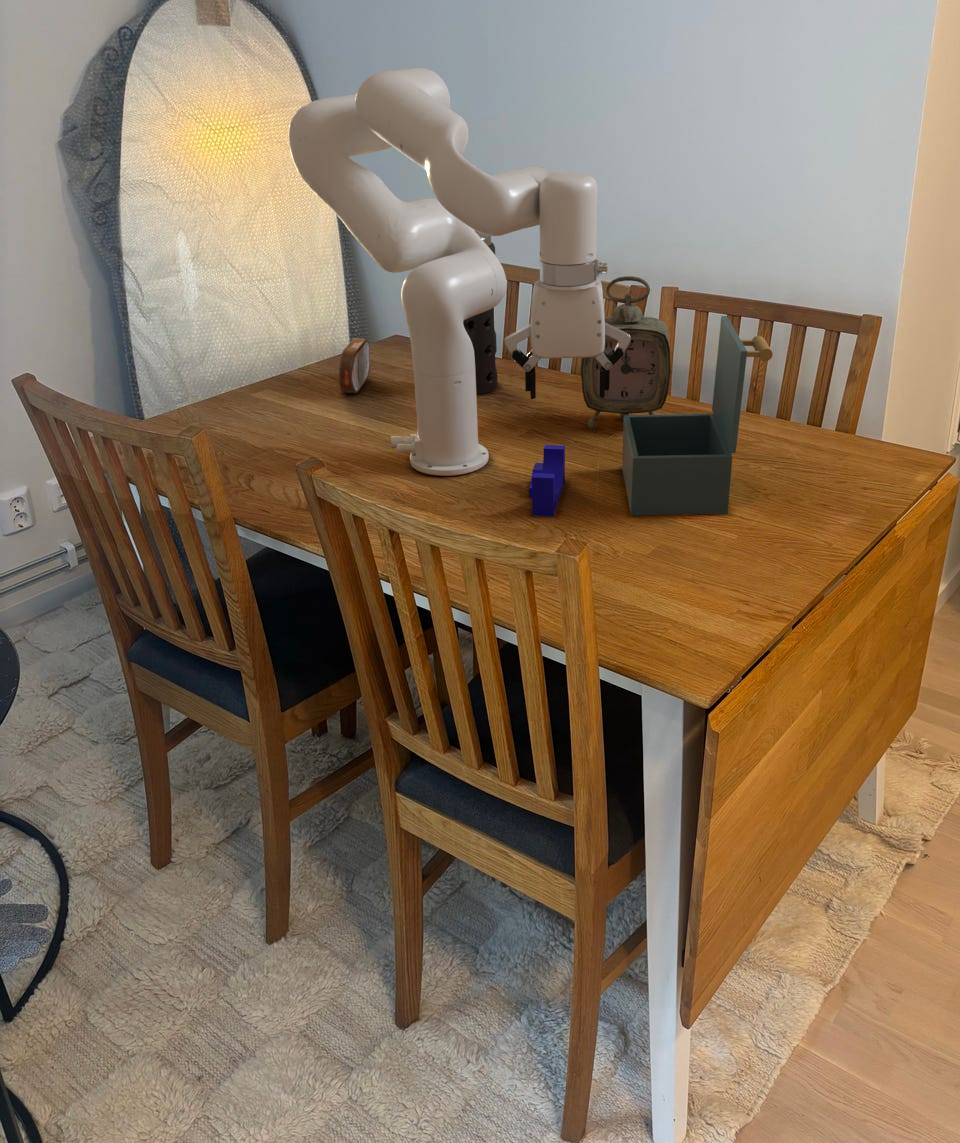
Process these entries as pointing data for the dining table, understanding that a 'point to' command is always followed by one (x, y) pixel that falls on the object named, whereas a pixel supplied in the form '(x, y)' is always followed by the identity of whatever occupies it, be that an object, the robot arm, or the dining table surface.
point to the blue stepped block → (548, 481)
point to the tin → (354, 365)
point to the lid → (733, 378)
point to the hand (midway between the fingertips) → (567, 395)
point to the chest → (675, 465)
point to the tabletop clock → (631, 362)
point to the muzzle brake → (483, 342)
